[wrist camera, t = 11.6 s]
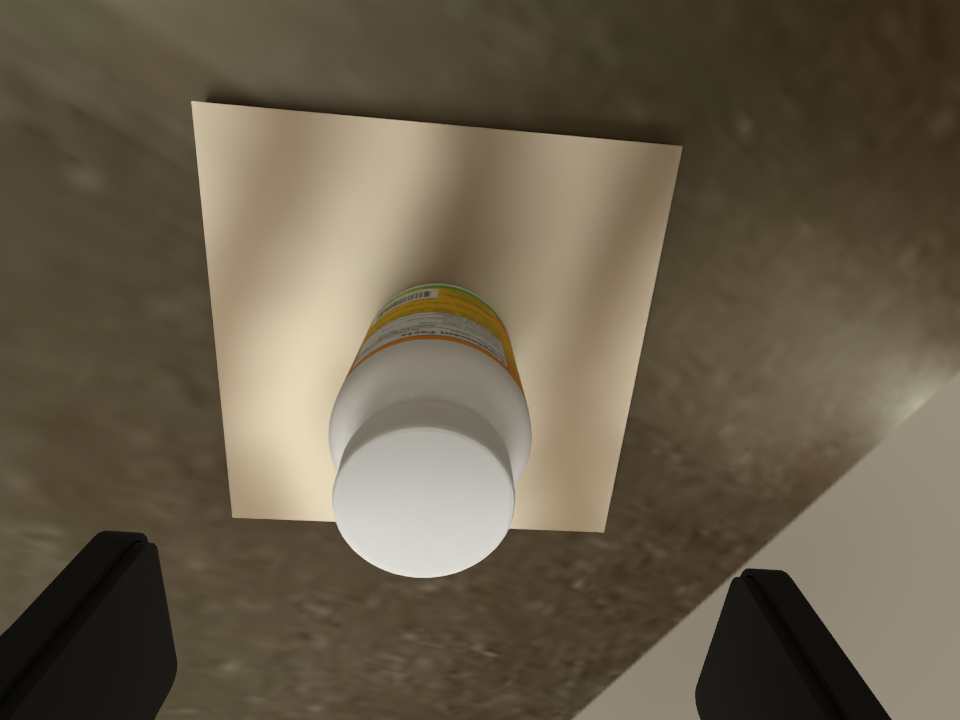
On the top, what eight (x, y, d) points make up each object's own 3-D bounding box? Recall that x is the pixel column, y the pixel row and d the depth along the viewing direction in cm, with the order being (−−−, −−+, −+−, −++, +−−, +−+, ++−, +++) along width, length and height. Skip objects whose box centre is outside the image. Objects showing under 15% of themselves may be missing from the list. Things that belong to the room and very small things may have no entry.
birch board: (672, 145, 20) (682, 146, 19) (598, 517, 25) (604, 532, 25) (204, 103, 18) (191, 101, 17) (240, 502, 24) (232, 517, 23)
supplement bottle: (474, 432, 22) (485, 631, 13) (346, 383, 21) (265, 562, 12) (534, 315, 21) (594, 451, 12) (398, 255, 20) (347, 354, 11)
